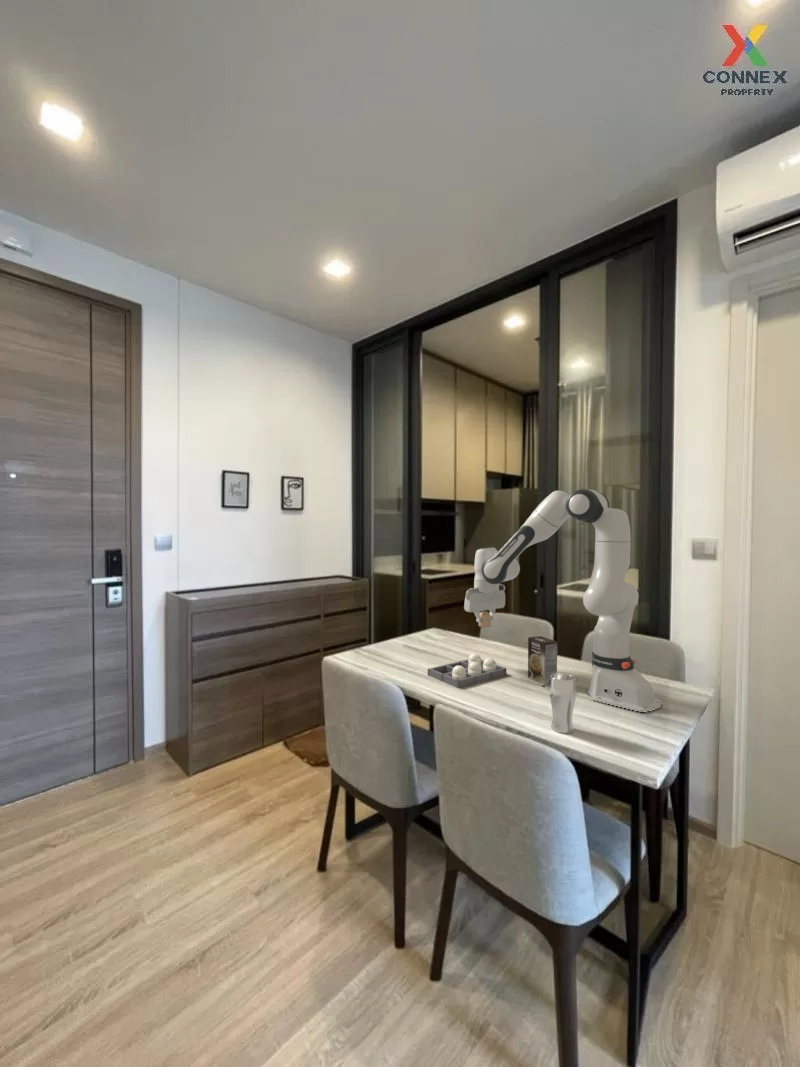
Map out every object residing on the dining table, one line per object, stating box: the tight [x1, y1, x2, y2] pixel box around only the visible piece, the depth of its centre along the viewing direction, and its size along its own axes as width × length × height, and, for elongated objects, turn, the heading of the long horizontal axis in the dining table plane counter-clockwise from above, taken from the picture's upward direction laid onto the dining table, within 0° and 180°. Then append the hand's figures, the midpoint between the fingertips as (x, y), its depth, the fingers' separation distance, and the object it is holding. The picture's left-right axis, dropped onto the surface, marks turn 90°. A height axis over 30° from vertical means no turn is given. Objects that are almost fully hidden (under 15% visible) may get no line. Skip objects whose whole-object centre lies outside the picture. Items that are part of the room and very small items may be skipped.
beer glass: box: [549, 672, 577, 734], centre depth 132 cm, size 7×7×15 cm
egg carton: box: [427, 659, 507, 689], centre depth 176 cm, size 17×25×4 cm
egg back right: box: [468, 652, 482, 665], centre depth 184 cm, size 5×5×6 cm
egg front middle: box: [468, 662, 481, 675], centre depth 173 cm, size 5×5×6 cm
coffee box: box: [527, 636, 558, 688], centre depth 171 cm, size 9×6×16 cm
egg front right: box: [483, 657, 497, 671], centre depth 178 cm, size 5×5×6 cm
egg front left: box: [452, 665, 466, 680], centre depth 168 cm, size 5×5×6 cm
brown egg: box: [478, 610, 492, 628], centre depth 187 cm, size 5×5×6 cm
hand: (484, 620), depth 187 cm, fingers closed on brown egg, 5 cm apart
